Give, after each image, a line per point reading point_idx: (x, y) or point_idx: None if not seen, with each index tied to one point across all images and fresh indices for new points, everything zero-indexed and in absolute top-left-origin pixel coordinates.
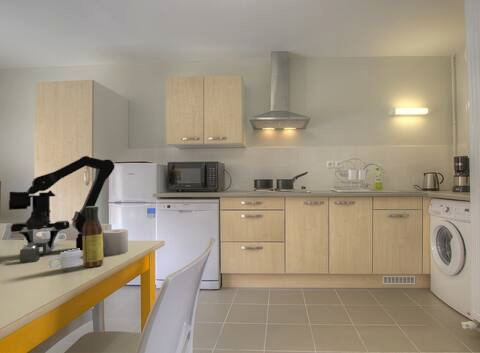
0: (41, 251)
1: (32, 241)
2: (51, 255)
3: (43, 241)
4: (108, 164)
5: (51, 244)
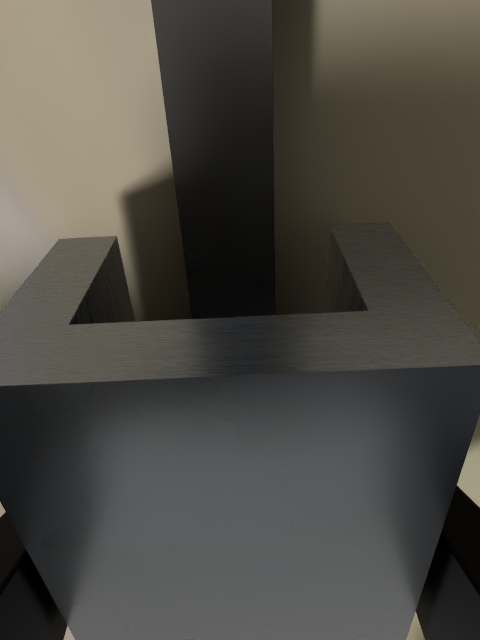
0: None
1: (410, 559)
2: (22, 269)
3: (128, 518)
4: None
5: None
